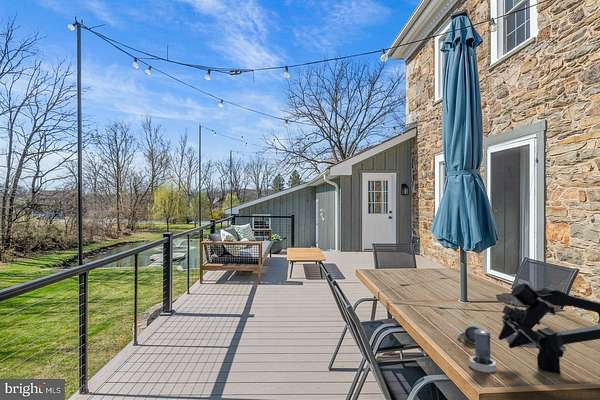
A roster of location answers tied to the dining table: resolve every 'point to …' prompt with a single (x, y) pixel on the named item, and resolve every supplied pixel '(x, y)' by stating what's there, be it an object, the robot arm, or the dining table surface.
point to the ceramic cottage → (515, 301)
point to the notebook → (527, 344)
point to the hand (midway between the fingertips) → (504, 343)
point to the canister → (482, 347)
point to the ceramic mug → (470, 333)
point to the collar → (482, 365)
